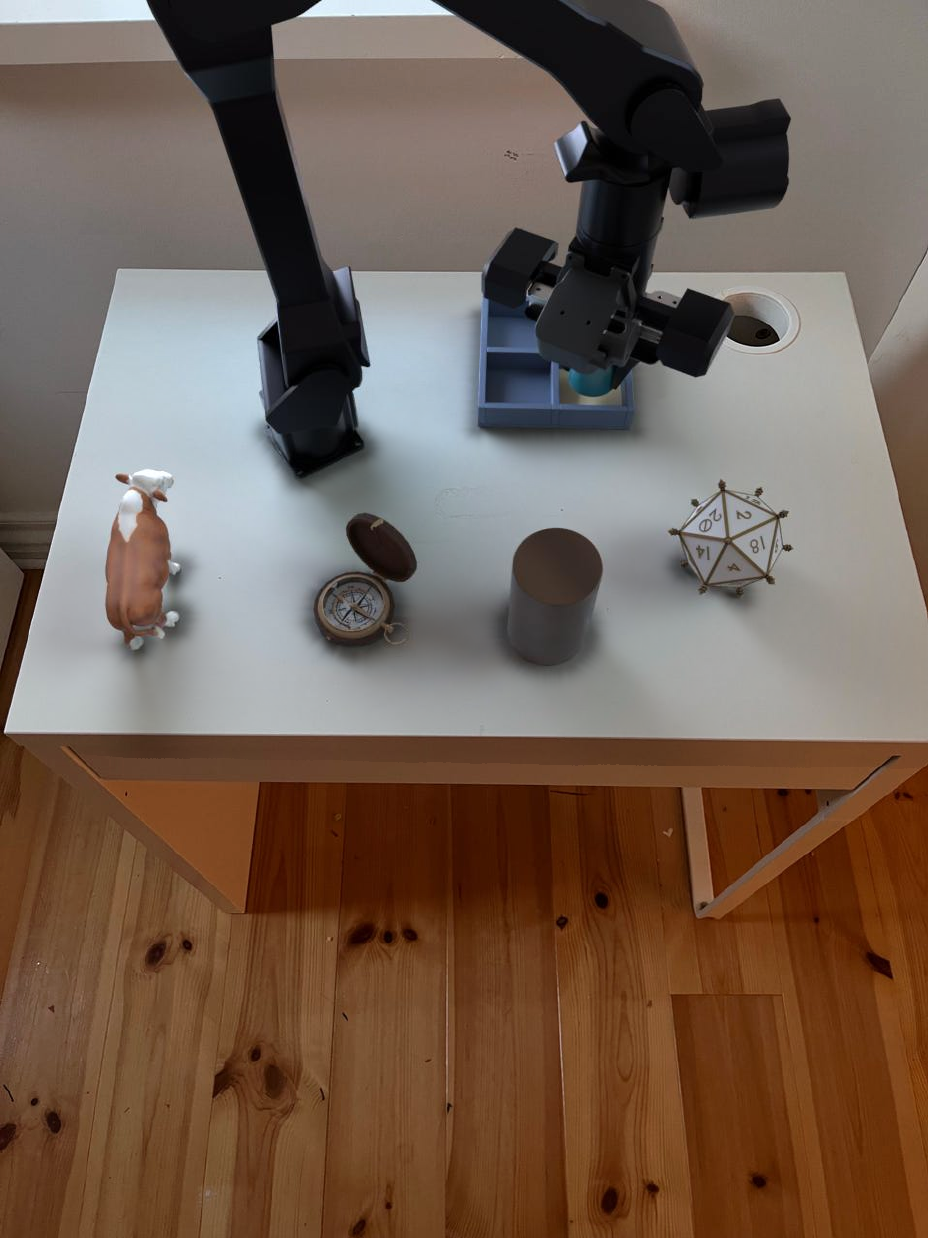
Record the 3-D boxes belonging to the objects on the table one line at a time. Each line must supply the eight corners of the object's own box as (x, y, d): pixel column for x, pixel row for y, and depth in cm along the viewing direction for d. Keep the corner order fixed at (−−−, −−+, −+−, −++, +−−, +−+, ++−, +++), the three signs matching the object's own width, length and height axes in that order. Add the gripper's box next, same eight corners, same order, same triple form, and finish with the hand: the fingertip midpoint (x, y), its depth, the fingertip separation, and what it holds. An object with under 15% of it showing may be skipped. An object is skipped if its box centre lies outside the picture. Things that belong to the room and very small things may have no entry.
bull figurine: (201, 514, 73) (171, 452, 66) (175, 665, 67) (139, 614, 59) (147, 514, 73) (111, 452, 66) (116, 665, 67) (73, 614, 59)
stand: (536, 679, 66) (545, 621, 57) (492, 618, 68) (495, 553, 60) (602, 640, 67) (621, 577, 59) (557, 581, 70) (568, 513, 61)
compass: (298, 622, 68) (279, 574, 62) (362, 549, 71) (350, 496, 65) (381, 677, 66) (371, 633, 60) (443, 599, 69) (440, 549, 63)
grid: (477, 426, 77) (478, 407, 75) (481, 315, 83) (482, 294, 80) (630, 429, 76) (634, 411, 74) (623, 317, 82) (627, 297, 80)
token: (586, 404, 75) (592, 370, 71) (559, 373, 76) (563, 338, 73) (625, 384, 76) (632, 350, 72) (597, 354, 77) (603, 319, 74)
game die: (706, 611, 72) (695, 623, 63) (659, 517, 73) (641, 516, 64) (813, 561, 69) (818, 566, 60) (763, 464, 70) (760, 454, 61)
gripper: (444, 247, 61) (449, 402, 74) (704, 342, 56) (658, 488, 70) (517, 152, 65) (509, 315, 79) (763, 234, 61) (709, 391, 75)
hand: (592, 376), depth 76 cm, fingers closed on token, 4 cm apart
